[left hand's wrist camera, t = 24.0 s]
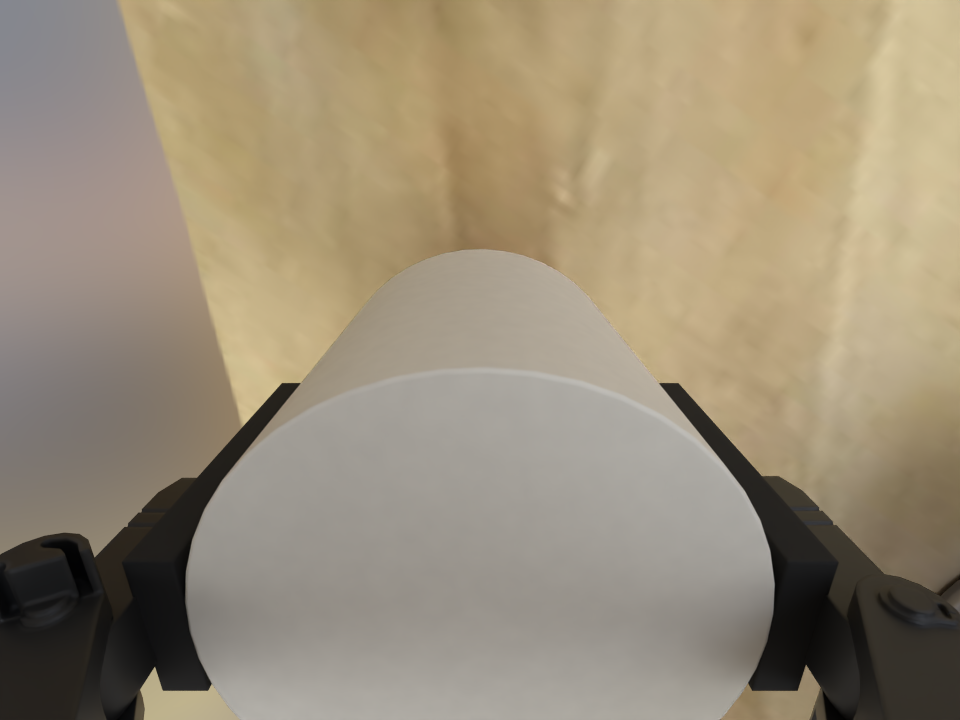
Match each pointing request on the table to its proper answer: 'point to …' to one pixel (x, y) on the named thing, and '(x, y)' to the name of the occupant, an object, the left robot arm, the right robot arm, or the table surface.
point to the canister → (479, 524)
